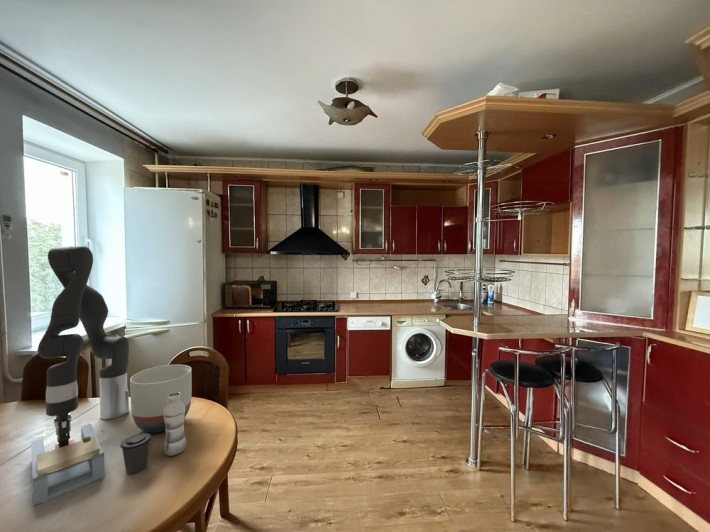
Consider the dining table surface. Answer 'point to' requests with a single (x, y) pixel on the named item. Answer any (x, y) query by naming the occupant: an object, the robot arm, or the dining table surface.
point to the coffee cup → (136, 452)
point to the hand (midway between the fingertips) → (63, 446)
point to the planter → (158, 394)
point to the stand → (65, 471)
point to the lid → (67, 455)
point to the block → (69, 443)
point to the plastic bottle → (174, 425)
